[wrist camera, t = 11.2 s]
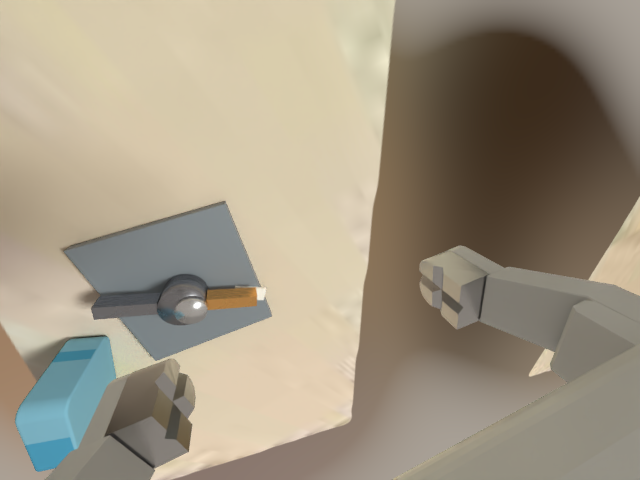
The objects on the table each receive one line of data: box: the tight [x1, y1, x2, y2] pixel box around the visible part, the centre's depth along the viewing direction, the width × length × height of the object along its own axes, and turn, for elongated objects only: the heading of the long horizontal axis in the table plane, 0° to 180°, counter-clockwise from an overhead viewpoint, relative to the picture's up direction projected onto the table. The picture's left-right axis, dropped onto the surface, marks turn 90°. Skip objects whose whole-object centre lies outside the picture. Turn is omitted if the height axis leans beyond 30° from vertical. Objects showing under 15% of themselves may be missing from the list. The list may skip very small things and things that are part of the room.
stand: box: [64, 201, 272, 361], centre depth 39 cm, size 22×21×2 cm
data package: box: [15, 336, 116, 472], centre depth 35 cm, size 12×4×12 cm, turn 169°
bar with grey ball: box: [91, 274, 257, 326], centre depth 36 cm, size 20×6×5 cm, turn 82°
